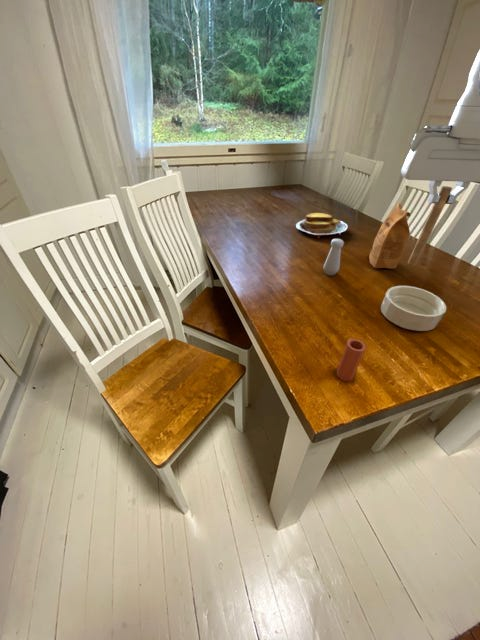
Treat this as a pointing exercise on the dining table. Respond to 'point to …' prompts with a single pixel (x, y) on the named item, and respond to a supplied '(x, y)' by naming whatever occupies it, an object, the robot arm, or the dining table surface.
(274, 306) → the dining table surface
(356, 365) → the utensil holder
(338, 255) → the salt shaker
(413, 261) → the stirring stick
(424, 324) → the bowl
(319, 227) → the food on plate
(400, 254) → the coffee package
